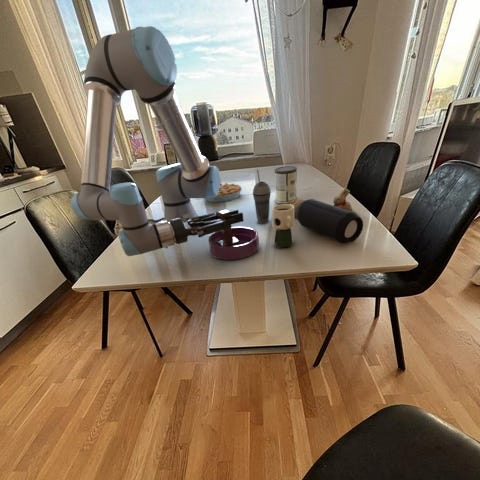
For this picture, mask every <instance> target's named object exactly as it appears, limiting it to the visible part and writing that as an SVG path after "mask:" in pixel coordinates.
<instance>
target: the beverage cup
mask: <svg viewBox="0 0 480 480" xmlns="http://www.w3.org/2000/svg"><path fill="white" fill-rule="evenodd" d="M256 173H257V179H258V180H257V181H258V182H257V183H256V184H255V185H254V186H253V189H252V198H253V200H254V208H255V214H256V220H257V224H260V225H266V224H268V223H269V219H270V202H271V201H270V200H271V194H272V191H271V187H270V185H269V184H268V183H267V182H265V181H261V179H260V172H259V169H256Z"/></svg>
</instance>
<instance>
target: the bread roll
mask: <svg viewBox="0 0 480 480" xmlns="http://www.w3.org/2000/svg"><path fill="white" fill-rule="evenodd" d="M305 200H306V199H303V198H296V200H295V201H293V202H291V203H290V204H291V205H293V206H294V219H297V217H296V211H297V208H298V206H299V205H300V203H301V202H303V201H305Z"/></svg>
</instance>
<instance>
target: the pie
mask: <svg viewBox="0 0 480 480" xmlns="http://www.w3.org/2000/svg"><path fill="white" fill-rule="evenodd" d="M242 190H243V188H242V187H241V185H240V184H235V183H227V182H226V183H224V184H223V183H220V187H219V191H218V194H217V196H216V197H214V198H208V199H206V198H205V200H206V201H207V202H210V203H222V202H228V201H232V200H235V199H237V198H239V197H240V193H241V192H242Z"/></svg>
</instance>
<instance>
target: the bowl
mask: <svg viewBox="0 0 480 480" xmlns="http://www.w3.org/2000/svg"><path fill="white" fill-rule="evenodd" d="M232 235H233V237H235V238H236V239H237V240H239V243H240V245H238V246H230V247H228V246H218V244H217V241H220V240H223V238H222V231H221V230H220V231H217V232H214V233H211V234H210V236H209V237H208V246H209V252H210V254H211V256H213V257H214V258H216V259H219V260H230V261H231V260H232V261H233V260H239V259H243V258H247V257H249V256H252V255H254V254H255V253H257V252H258V250H259V249H260V240H259V232H258V231H257V230H256V229H254V228H251V227H247V226H233V227H232Z"/></svg>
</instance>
